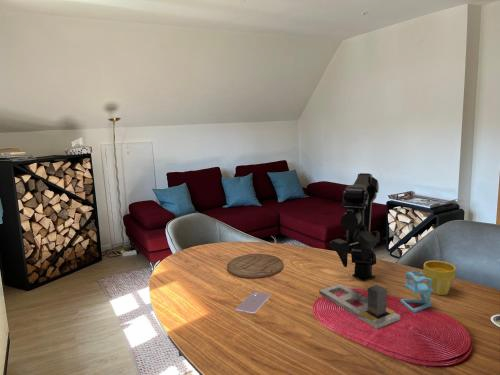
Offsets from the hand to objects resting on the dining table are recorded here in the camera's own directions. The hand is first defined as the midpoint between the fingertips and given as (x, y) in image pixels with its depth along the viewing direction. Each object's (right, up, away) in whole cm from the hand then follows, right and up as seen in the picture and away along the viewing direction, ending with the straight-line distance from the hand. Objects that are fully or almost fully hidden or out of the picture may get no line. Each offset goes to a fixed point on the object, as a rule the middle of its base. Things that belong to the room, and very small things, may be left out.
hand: (355, 264), depth 135 cm
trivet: (-35, -8, +33) cm, 49 cm away
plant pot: (+31, -10, +2) cm, 33 cm away
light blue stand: (+19, -13, -7) cm, 24 cm away
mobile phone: (-36, -14, +1) cm, 39 cm away
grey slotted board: (-1, -13, -5) cm, 14 cm away
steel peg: (+3, -15, -13) cm, 20 cm away
